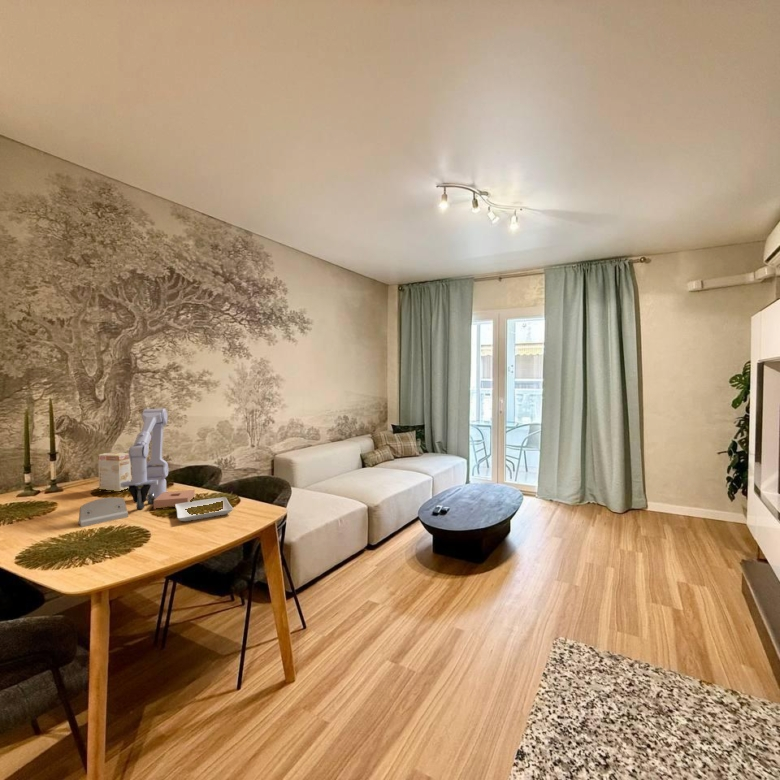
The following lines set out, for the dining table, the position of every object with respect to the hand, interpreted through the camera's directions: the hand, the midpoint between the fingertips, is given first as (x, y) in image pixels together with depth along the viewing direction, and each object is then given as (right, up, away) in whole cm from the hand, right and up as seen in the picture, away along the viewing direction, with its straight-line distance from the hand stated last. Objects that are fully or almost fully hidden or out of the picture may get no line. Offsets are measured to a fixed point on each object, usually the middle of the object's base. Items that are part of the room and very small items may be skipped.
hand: (140, 501), depth 178 cm
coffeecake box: (-35, -3, +33) cm, 48 cm away
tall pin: (0, -3, 0) cm, 3 cm away
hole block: (+11, -3, +8) cm, 14 cm away
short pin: (0, -3, +8) cm, 9 cm away
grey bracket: (-7, -4, -13) cm, 15 cm away
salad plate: (+32, -4, -6) cm, 32 cm away
